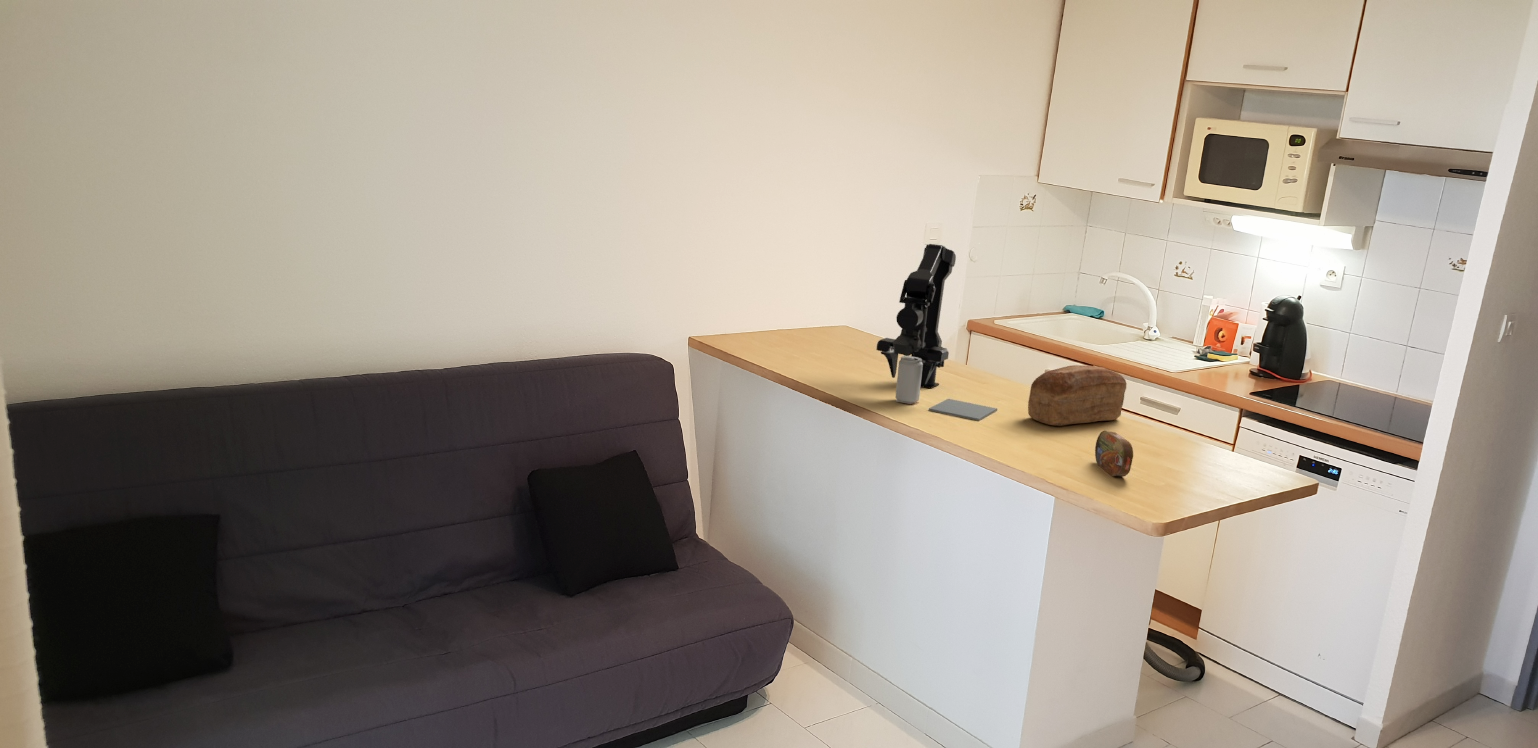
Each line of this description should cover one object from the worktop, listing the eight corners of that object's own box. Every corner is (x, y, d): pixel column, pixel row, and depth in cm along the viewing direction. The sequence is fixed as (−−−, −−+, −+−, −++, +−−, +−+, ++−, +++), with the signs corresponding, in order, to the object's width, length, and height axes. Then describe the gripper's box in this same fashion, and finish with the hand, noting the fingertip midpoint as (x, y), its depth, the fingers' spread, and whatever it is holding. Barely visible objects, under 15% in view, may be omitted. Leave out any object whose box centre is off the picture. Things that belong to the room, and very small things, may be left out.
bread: (1128, 422, 285) (1136, 369, 282) (1052, 430, 271) (1059, 375, 268) (1094, 410, 295) (1102, 359, 292) (1019, 418, 281) (1026, 365, 278)
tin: (1092, 460, 248) (1097, 425, 246) (1105, 460, 249) (1110, 426, 247) (1117, 481, 234) (1123, 445, 232) (1131, 482, 234) (1137, 445, 232)
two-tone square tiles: (899, 398, 292) (899, 398, 291) (918, 402, 289) (918, 402, 289) (894, 401, 289) (895, 400, 289) (914, 405, 286) (914, 404, 286)
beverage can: (918, 405, 285) (922, 361, 282) (894, 402, 286) (898, 359, 284) (919, 399, 291) (924, 357, 288) (896, 397, 292) (900, 354, 290)
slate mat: (948, 400, 293) (948, 398, 293) (997, 410, 287) (997, 408, 286) (928, 410, 282) (928, 408, 281) (979, 421, 275) (979, 418, 275)
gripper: (870, 322, 282) (864, 379, 285) (936, 333, 273) (929, 392, 276) (887, 317, 291) (882, 372, 295) (952, 327, 282) (945, 385, 286)
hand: (909, 380), depth 288 cm, fingers open, 9 cm apart
